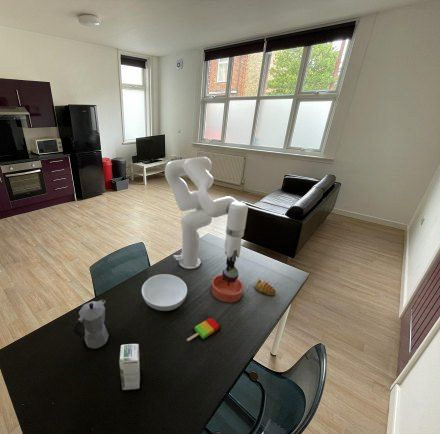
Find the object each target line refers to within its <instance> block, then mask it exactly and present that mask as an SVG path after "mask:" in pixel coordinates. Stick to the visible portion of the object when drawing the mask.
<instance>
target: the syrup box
mask: <svg viewBox="0 0 440 434" xmlns="http://www.w3.org/2000/svg"><path fill="white" fill-rule="evenodd" d="M140 368H141V367H140V348H139V343H128V344H127V343H126V344H121V345H120V351H119V372H120V382H121V390H122V391H129V390H138V389H140V388H141V385H140V384H141V376H140V375H141V372H140V371H141V369H140Z"/></svg>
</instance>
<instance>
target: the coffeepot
mask: <svg viewBox="0 0 440 434" xmlns="http://www.w3.org/2000/svg"><path fill="white" fill-rule="evenodd" d="M106 302H107V300H105V299H100V300H97V301H95V300H92V301H89V302H87V303H85V304H83V305H82V307H81V308H80V310H79V311H78V315H79V317H78V319H77V320H76V321H75V322H73V326H72V328H71V330H72V332H73V334H75V335H76V336H77V337H78V338H79V339H82V338H83V337H84V342H85V344H86V347H87V348H90V349H99V348H101V347H103V346H104V345H105V344H107V342H108V339H109V336H110V334H109V332H108V329H107V328H106V325H105V319H106V307H105V303H106ZM82 324H83V326H84V332H83V333H82V332H81V331H80V330H79V328H78V327H79V326H80V325H82Z"/></svg>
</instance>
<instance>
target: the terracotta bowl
mask: <svg viewBox="0 0 440 434" xmlns="http://www.w3.org/2000/svg"><path fill="white" fill-rule="evenodd" d="M222 274H223V273H221V274H217V275H215V276H214V277H213V278H212V279H211V285H210V291H211V294H212V295H213V296H214V297H215V298H216V299H217V300H219V301H220V302H223V303H230V304H231V303H236V302H238V301H239V300H240V299H241V298H242V296H243V291H244V285H243V282H242V281H241V280H240V279H239V277H238V278H237V280H236V282H235V283H234V282H231V283H229V286H227V284H228V282H227V281H225V280H222V278H223V277H222Z"/></svg>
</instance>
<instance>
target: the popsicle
mask: <svg viewBox="0 0 440 434" xmlns="http://www.w3.org/2000/svg"><path fill="white" fill-rule="evenodd" d="M219 329H220V324H219V323H218V322H217V321H216V320H215V319H214V318H212V317H209V318H207V319H206V320H204V321H202V322H200V323H199V324H197V325H196V326H194V331H195V332H196V333H194V334H192V335H191V336H190V337H188V338H186V341H187V342H190V341H192V340H193V339H194V338H196V337H198V336H199V337H200V338H201V339H202V340H204V339H206V338H208V337H209V336H210V335H213V334H214V333H216V332H217V331H218V330H219Z"/></svg>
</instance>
